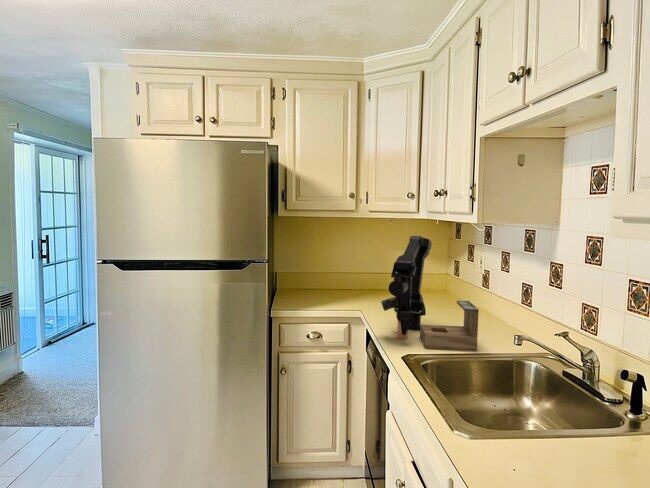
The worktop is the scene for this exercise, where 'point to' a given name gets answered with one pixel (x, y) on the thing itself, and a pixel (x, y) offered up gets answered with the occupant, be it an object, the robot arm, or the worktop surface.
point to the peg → (399, 332)
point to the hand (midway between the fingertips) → (402, 331)
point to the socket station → (453, 332)
